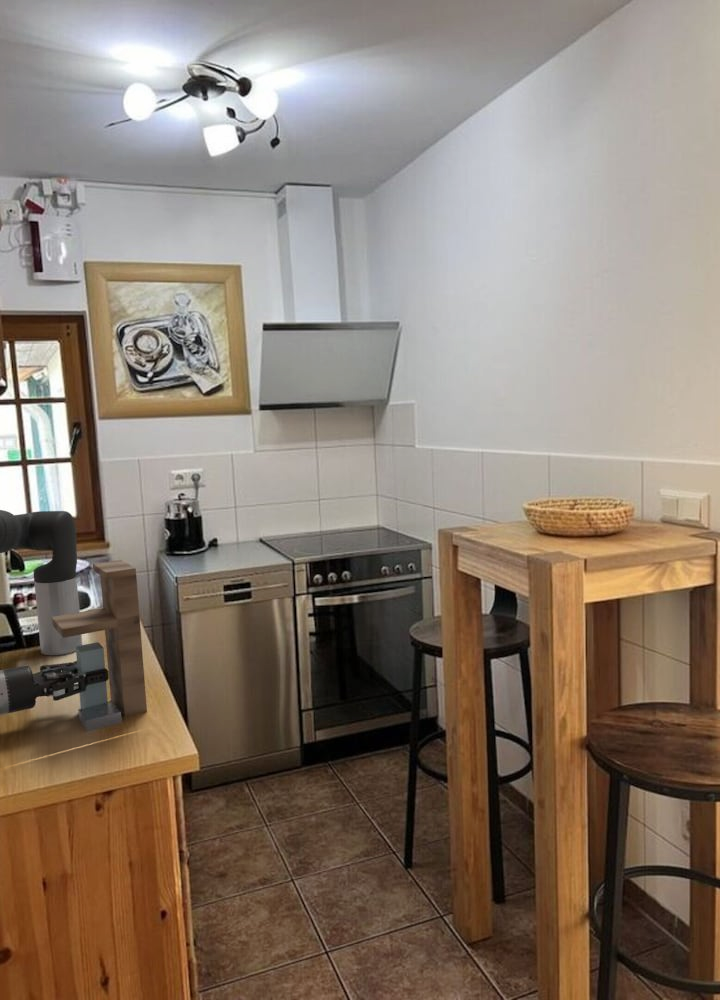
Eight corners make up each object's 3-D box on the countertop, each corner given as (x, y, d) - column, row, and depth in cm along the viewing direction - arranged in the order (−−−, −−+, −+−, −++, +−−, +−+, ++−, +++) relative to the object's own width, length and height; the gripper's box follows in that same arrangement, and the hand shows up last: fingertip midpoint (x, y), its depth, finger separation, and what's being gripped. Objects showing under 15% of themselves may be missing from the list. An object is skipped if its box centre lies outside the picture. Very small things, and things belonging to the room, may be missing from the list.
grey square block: (79, 722, 133) (78, 709, 133) (113, 714, 136) (112, 701, 136) (87, 734, 128) (85, 720, 128) (122, 725, 131) (121, 711, 131)
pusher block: (80, 708, 137) (75, 646, 135) (102, 703, 139) (98, 641, 137) (85, 716, 134) (80, 652, 132) (108, 710, 136) (103, 647, 134)
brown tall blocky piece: (60, 713, 137) (47, 570, 134) (131, 696, 144) (120, 559, 141) (71, 732, 129) (57, 579, 125) (147, 713, 136) (135, 568, 132)
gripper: (6, 683, 121) (113, 661, 130) (-5, 660, 133) (94, 641, 142) (10, 726, 122) (116, 702, 131) (-1, 700, 134) (97, 679, 143)
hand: (104, 670), depth 137 cm, fingers closed on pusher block, 4 cm apart
